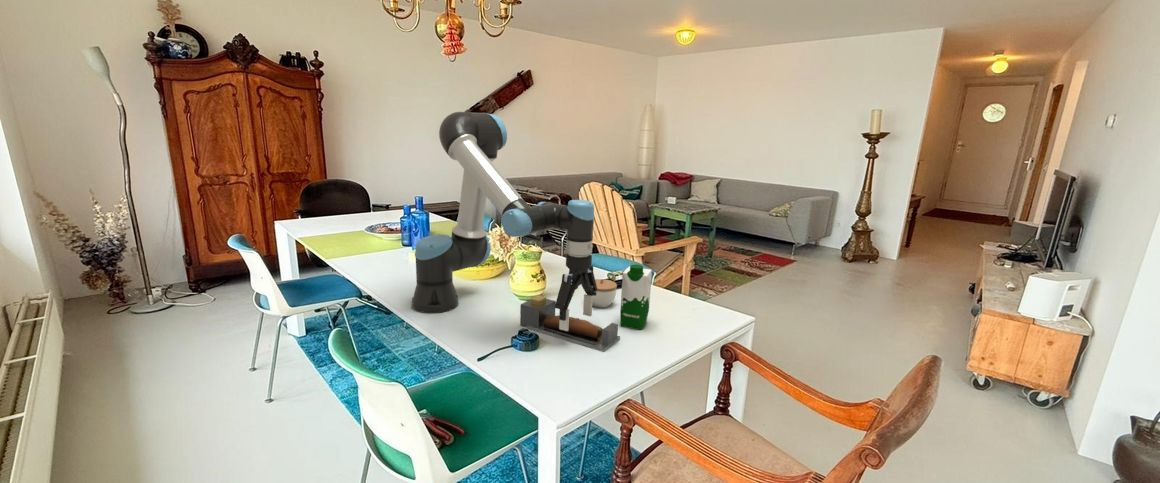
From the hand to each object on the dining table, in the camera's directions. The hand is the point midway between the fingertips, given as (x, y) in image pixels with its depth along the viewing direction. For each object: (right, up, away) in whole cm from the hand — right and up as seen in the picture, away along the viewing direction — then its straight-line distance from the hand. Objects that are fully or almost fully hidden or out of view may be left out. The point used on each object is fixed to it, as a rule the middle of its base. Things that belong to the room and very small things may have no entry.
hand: (576, 322), depth 144 cm
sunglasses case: (0, -3, +1) cm, 3 cm away
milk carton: (+18, -3, +11) cm, 22 cm away
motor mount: (-3, -3, +2) cm, 5 cm away
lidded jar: (+9, +2, +27) cm, 28 cm away
